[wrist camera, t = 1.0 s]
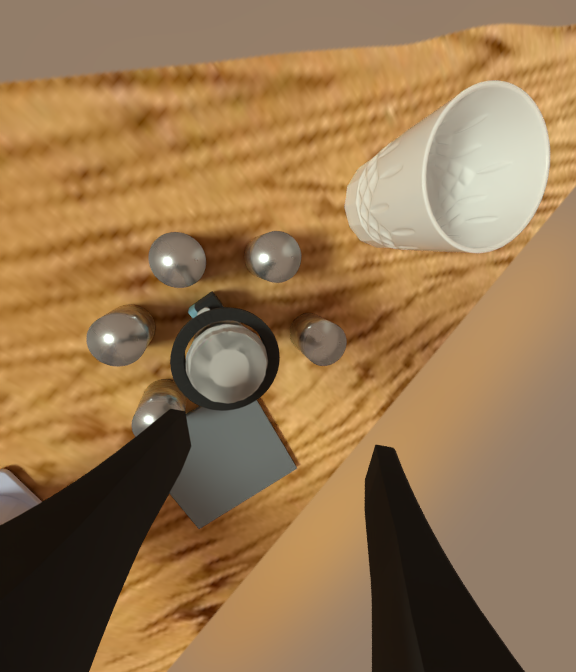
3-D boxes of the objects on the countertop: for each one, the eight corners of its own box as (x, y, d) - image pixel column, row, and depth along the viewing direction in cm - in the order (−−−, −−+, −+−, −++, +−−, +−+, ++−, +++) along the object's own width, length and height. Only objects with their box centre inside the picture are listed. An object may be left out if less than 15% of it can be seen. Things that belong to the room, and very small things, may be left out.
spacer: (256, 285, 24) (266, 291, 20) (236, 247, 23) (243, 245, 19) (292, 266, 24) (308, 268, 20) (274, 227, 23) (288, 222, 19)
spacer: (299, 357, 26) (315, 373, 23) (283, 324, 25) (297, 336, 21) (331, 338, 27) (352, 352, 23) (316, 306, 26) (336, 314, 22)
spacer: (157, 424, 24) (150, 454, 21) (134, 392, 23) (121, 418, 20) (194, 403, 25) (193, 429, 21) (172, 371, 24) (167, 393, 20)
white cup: (339, 259, 25) (422, 261, 16) (333, 151, 23) (424, 78, 14) (423, 249, 27) (541, 244, 18) (424, 147, 25) (560, 80, 15)
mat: (199, 525, 28) (198, 529, 27) (132, 444, 24) (131, 447, 24) (295, 465, 29) (297, 468, 28) (245, 380, 25) (245, 382, 25)
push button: (274, 343, 25) (317, 393, 16) (222, 382, 25) (234, 457, 16) (225, 275, 23) (241, 288, 14) (166, 318, 23) (141, 361, 13)
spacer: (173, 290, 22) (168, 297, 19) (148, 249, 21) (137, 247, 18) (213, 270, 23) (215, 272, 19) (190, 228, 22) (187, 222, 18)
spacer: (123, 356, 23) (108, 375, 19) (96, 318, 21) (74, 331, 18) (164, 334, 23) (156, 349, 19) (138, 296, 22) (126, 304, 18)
